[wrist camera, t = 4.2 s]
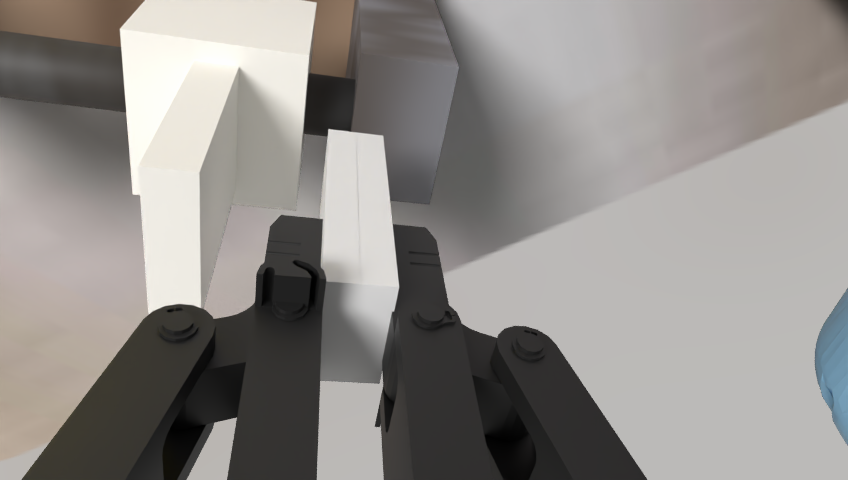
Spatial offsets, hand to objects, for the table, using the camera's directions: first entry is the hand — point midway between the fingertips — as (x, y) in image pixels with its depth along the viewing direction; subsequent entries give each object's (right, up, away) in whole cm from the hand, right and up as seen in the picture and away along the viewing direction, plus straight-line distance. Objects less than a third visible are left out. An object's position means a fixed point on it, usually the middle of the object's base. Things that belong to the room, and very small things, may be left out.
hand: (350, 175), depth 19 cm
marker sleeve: (-4, +5, +5) cm, 8 cm away
